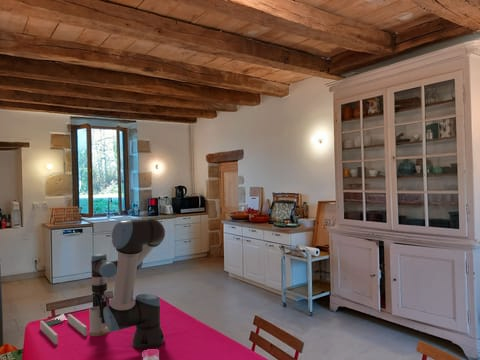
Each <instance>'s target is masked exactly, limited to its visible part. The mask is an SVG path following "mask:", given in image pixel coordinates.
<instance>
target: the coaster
mask: <svg viewBox="0 0 480 360" xmlns="http://www.w3.org/2000/svg"><path fill="white" fill-rule="evenodd" d="M110 333H112V331H110V330H109V329H108V328H107V326H106V328H105V329H103V331H101V332H99V333H91V332H90V330H89V331H88V335H89V336H91V337H101V336H106V335H108V334H110Z"/></svg>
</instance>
